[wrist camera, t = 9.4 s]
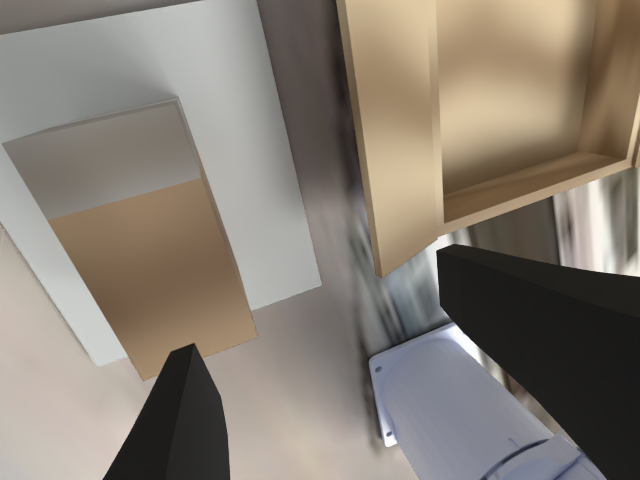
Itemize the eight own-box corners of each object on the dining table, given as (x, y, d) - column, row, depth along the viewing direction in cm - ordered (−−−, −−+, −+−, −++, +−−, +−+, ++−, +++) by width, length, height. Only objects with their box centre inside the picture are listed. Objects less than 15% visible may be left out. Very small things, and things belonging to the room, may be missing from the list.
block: (237, 263, 18) (258, 336, 13) (155, 291, 17) (143, 381, 12) (178, 96, 14) (174, 103, 9) (72, 120, 14) (1, 143, 8)
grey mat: (319, 281, 21) (321, 285, 20) (99, 360, 18) (97, 367, 18) (252, -6, 14) (254, -9, 14) (-100, 55, 12) (-112, 53, 11)
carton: (618, 141, 24) (713, 153, 20) (337, 236, 20) (379, 279, 16) (666, -116, 18) (816, -178, 14) (279, -61, 14) (323, -128, 10)
